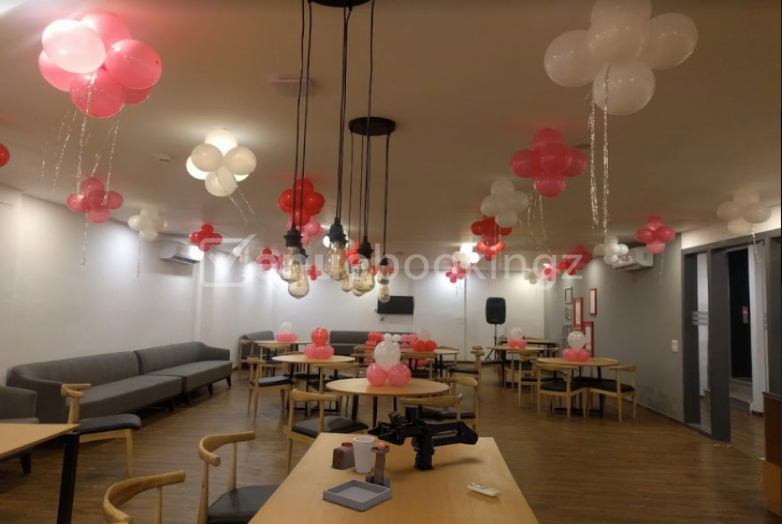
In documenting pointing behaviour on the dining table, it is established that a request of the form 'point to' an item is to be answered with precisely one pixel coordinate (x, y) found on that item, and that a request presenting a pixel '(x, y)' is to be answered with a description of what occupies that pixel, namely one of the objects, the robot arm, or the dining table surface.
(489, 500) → the dining table surface
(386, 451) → the lever
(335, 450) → the food item
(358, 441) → the foam cup
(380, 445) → the ball
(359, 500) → the tray
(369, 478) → the lever stand
